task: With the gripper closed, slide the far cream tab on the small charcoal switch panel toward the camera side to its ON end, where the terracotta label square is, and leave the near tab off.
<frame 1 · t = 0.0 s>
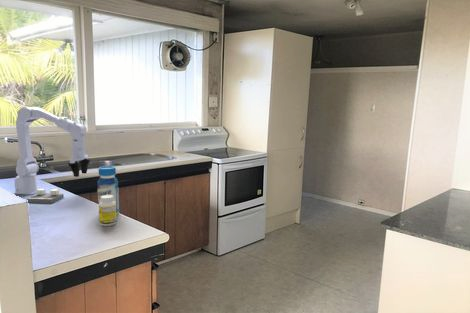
hand: (80, 174, 180), 10 cm above the counter, tool pointing down, fingers open, 7 cm apart
switch tab near: (40, 191, 172), point 4 cm above the counter, slide at 0.0 cm
pill bottle: (108, 224, 139), on the counter
switch panel: (45, 200, 170), on the counter
beverage bottle: (109, 214, 152), on the counter
switch tab far: (54, 192, 172), point 4 cm above the counter, slide at 0.0 cm
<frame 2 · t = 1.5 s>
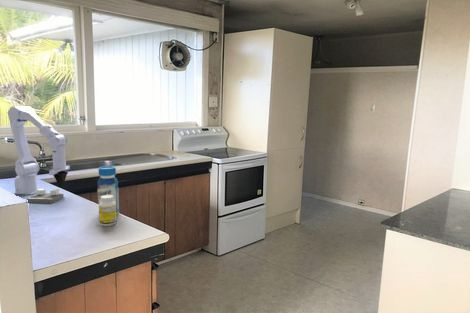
hand: (61, 186, 177), 5 cm above the counter, tool pointing down, fingers closed
nothing on the counter moved.
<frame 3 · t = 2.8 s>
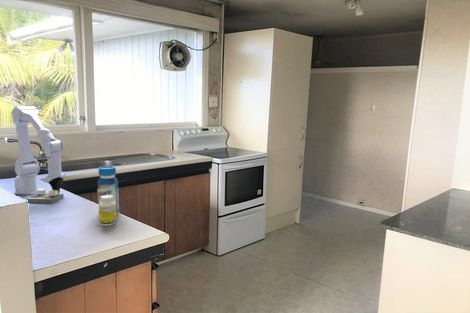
hand: (56, 193, 173), 3 cm above the counter, tool pointing down, fingers closed
switch tab far: (53, 192, 171), point 4 cm above the counter, slide at 1.1 cm, touching gripper
everything else where it was.
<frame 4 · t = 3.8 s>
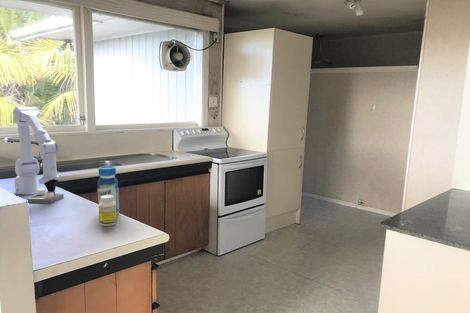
hand: (51, 195, 169), 3 cm above the counter, tool pointing down, fingers closed
switch tab far: (49, 194, 167), point 4 cm above the counter, slide at 4.5 cm, touching gripper
everything else where it was.
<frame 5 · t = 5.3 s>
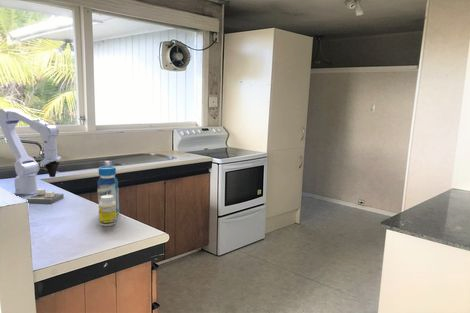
hand: (52, 176, 178), 9 cm above the counter, tool pointing down, fingers closed
switch tab far: (49, 194, 168), point 4 cm above the counter, slide at 4.1 cm
everything else where it was.
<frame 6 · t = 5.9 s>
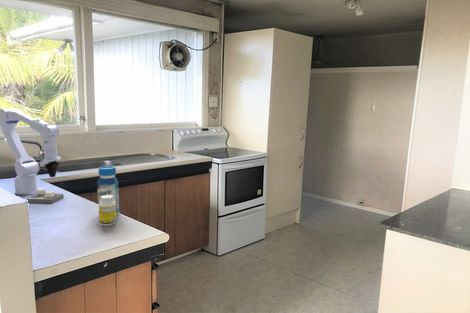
hand: (52, 176, 178), 9 cm above the counter, tool pointing down, fingers closed
nothing on the counter moved.
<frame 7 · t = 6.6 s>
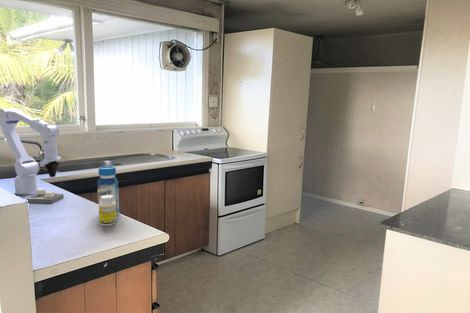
hand: (52, 176, 178), 9 cm above the counter, tool pointing down, fingers closed
nothing on the counter moved.
at the end: switch tab far slide at 4.1 cm; switch tab near slide at 0.0 cm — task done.
